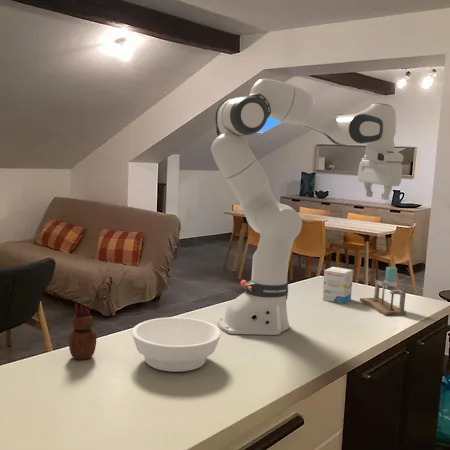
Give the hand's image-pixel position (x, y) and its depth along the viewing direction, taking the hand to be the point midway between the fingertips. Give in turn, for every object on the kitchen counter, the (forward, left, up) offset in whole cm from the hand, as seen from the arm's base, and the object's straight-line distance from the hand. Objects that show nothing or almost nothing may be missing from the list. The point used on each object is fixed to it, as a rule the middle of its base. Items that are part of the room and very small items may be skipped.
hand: (376, 198), depth 176 cm
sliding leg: (+14, +12, -39) cm, 43 cm away
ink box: (+1, +24, -41) cm, 47 cm away
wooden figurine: (-92, -21, -41) cm, 103 cm away
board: (+13, +12, -41) cm, 44 cm away
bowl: (-69, -27, -41) cm, 85 cm away
